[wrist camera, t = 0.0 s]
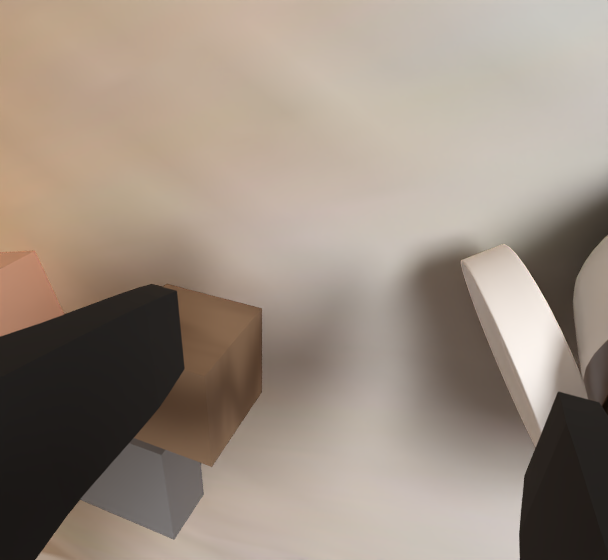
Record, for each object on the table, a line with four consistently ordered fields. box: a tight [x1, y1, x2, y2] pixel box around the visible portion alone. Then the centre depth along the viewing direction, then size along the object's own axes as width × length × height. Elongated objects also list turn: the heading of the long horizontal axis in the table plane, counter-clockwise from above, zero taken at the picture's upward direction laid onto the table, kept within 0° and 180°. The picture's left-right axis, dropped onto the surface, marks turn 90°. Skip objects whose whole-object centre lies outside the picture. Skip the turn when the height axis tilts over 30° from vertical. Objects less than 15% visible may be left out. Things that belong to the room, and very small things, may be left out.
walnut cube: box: [134, 284, 262, 467], centre depth 23 cm, size 5×5×5 cm
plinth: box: [80, 438, 204, 539], centre depth 30 cm, size 7×7×4 cm
